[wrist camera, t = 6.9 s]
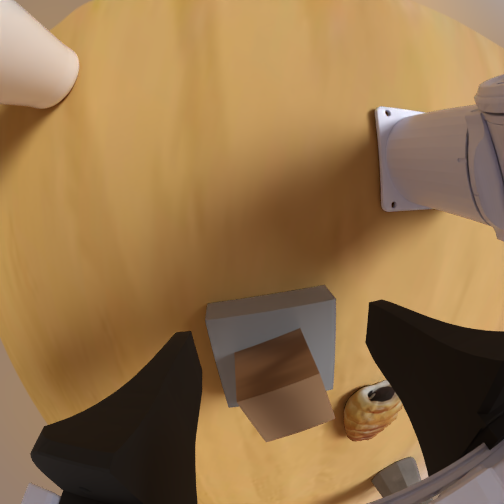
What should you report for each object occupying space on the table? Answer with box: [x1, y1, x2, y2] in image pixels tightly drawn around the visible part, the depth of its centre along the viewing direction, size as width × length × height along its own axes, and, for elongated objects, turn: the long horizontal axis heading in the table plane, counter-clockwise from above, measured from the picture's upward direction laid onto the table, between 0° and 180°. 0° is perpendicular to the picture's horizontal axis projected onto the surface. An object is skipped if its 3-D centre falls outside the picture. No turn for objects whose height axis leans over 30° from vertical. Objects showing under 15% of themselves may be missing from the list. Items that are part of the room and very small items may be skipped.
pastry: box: [344, 380, 403, 441], centre depth 25 cm, size 9×7×4 cm
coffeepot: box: [372, 457, 433, 504], centre depth 26 cm, size 15×9×18 cm, turn 61°
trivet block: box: [205, 285, 336, 407], centre depth 21 cm, size 9×9×3 cm
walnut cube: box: [234, 328, 336, 442], centre depth 17 cm, size 5×5×5 cm
